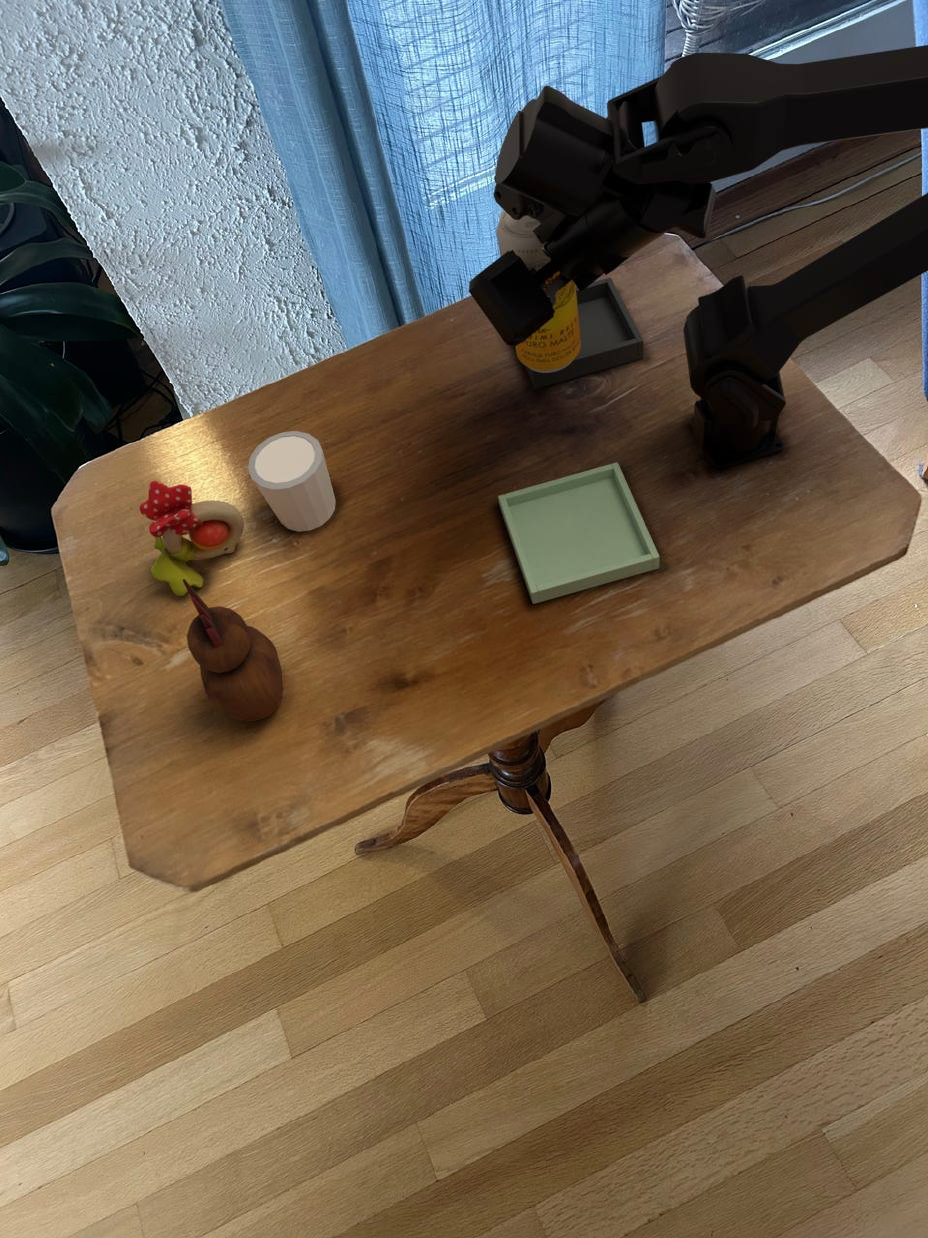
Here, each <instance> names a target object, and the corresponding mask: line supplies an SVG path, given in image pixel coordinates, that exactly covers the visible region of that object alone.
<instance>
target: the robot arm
mask: <svg viewBox="0 0 928 1238" xmlns="http://www.w3.org/2000/svg"><path fill="white" fill-rule="evenodd" d="M606 113H607V116H606V117H604V116H602V115H601V114H598V113H597V112H594V111H592V110H591V109H588V108H587V107H585V106H583V105H581V104H579V103H577V102H575V101H573V100H572V99H570V98H569V97H568V96H567V95H566V94H564V93H563V92H562V91H560V90H558V89H556V88H554V87H553V86H550V85H545V86H543V87H542V89H541V91H540V93H539V95H538V96H537V98H531V99H530V100H529V101H528V102H527V103H526V104H525V105H524V107H523V108H522V109H521V110H517V112H516V113H515V115H514V117H513V118H512V121H511V123H510V125H509V127H508V129H507V131H506V134H505V136H504V139H503V141H502V145H501V147H500V151H499V154H498V157H497V161H496V166H495V173H494V176H493V179H494V183H495V187H494V191H493V199H494V201H495V203H496V204H497V205H498V206H499V207H500V208H501V209H502V211H503V210H504V211H505V212H506V213H507V214H509V215H510V216H511V217H512V218H513V219H514V220H520V219H521V218H522V217H524V216H530V217H531V218H532V219H536V220H539V222H540V223H541V224H540V225H539V226H537V227H536V228H535V229H534V230H533V232H534V234H535V235H536V237H537V238H538V240H539V241H540V243H541V244H544V243H545V242H547V243H546V244H545V245H543V247H542V250H543V252H544V253H545V255H546V256H547V257H550V259H551V260H550V261H549V262H548V263H547V264H545V265H544V266H543V267H542V268H540V269H539V270H538V271H536V270H535V268H534V267H532V268H531V269H530V270H529V269H528V268H527V266H526V265H525V263H524V262H523V260H522V259H521V258H520V256H518V255H516V254H515V252H514V251H513V250H511V251H507V252H506V253H505V254H503V255H502V256H501V257H500V256H499V257H498V258H497V259H496V260H494V261H493V262H492V263H490V264H489V265H488V266H487V267H485V268H484V269H483V270H481V271H480V272H479V273H477V274H476V275H475V276H474V277H473V278H472V279H470V280H469V282H468V293H469V294H470V296H471V297H472V298H473V300H474V301H475V303H476V304H477V306H478V307H479V309H480V310H481V311H482V313H483V314H484V315H485V317H486V318H487V320H488V321H489V323H490V324H491V325H492V327H493V328H494V329H495V331H496V332H497V334H498V335H499V336H500V338H501V339H502V340H503V342H504V343H505V345H506V346H511V347H515V346H517V345H518V344H520V343H522V342H523V341H525V340H526V339H527V338H529V337H530V336H531V335H532V334H534V333H535V332H536V331H537V330H538V329H540V328H541V327H542V326H543V325H545V324H546V323H547V322H548V321H549V320H551V319H552V318H553V317H554V313H555V310H554V309H553V306H554V305H555V304H556V293H557V292H558V291H559V290H560V289H561V288H563V287H564V286H565V285H566V284H568V283H569V282H570V281H571V280H573V282H574V283H575V286H576V287H578V289H579V290H580V292H581V291H582V290H584V289H585V288H587V287H588V286H589V285H591V284H592V283H593V282H595V281H598V279H599V278H600V277H602V276H603V275H605V276H607V275H609V274H611V273H612V272H613V271H615V270H616V269H617V268H618V267H619V266H621V265H622V264H624V262H626V261H627V260H628V259H629V258H631V257H632V256H633V255H634V254H636V253H638V252H639V251H640V250H641V249H643V248H645V247H647V246H648V245H650V244H651V243H652V242H654V241H656V240H657V239H659V238H660V237H663V235H665V234H667V233H668V232H669V231H671V230H674V229H677V230H680V231H682V232H684V233H687V234H689V235H690V236H693V237H695V238H697V239H699V240H703V239H705V238H707V237H708V236H707V235H708V232H709V227H710V223H711V219H712V214H713V210H714V206H715V202H716V199H717V198H716V197H717V191H716V189H715V188H714V185H713V183H714V182H717V181H721V180H725V179H727V178H731V177H734V176H738V175H741V174H746V173H749V172H751V171H753V170H755V169H757V168H758V167H760V166H761V165H763V164H764V163H766V162H768V161H769V160H770V159H772V158H773V157H776V155H778V154H779V153H781V152H784V151H788V150H790V149H794V148H797V147H801V146H808V145H815V144H822V143H830V142H838V141H844V140H854V139H860V138H861V139H862V138H868V137H875V136H881V135H882V136H883V135H889V134H898V133H904V132H911V131H912V132H913V131H918V130H919V131H920V130H926V129H928V44H924V45H918V46H912V47H911V46H910V47H904V48H898V49H897V48H896V49H891V50H883V51H877V52H870V53H864V54H857V55H850V56H844V57H837V58H830V59H829V58H828V59H822V60H817V61H809V62H803V63H779V62H776V61H773V60H769V59H766V58H762V57H759V56H756V55H754V54H753V55H752V54H749V53H745V52H743V53H742V52H741V53H740V52H738V53H737V52H693V53H690V54H687V55H684V56H681V57H679V58H677V59H675V60H673V61H672V62H671V63H670V65H669V68H668V69H666V71H664V73H663V74H662V75H660V76H659V77H655V78H654V79H651V80H649V81H646V82H645V83H643V84H640V85H638V86H636V87H634V88H632V89H629V90H628V91H625V92H623V93H620V94H619V95H617V96H615V97H612V98H610V99H609V100H608V101H607V102H606ZM651 122H653V126H654V133H655V142H653V143H651V144H648V145H646V144H645V136H644V135H645V134H644V128H643V124H644V123H651ZM558 271H559V272H560V274H559V275H557V276H556V278H553V279H552V280H551V281H550V282H549V283H547V284H545V283H544V282H545V281H546V280H548V279H549V278H550V277H551V276H553V275H554V274H555V273H556V272H558ZM927 272H928V192H926V193H925V194H923V195H921V196H920V197H918V198H916V199H914V200H913V201H911V202H909V203H908V204H907V205H905V206H903V207H901V208H900V209H898V210H896V211H895V212H893V213H891V214H889V215H888V216H886V217H885V218H883V219H881V220H880V221H878V222H876V223H875V224H873V225H871V226H870V227H868V228H866V229H865V230H863V231H861V232H860V233H858V234H857V235H855V236H853V237H851V238H850V239H848V240H846V241H844V242H843V243H841V244H840V245H838V246H836V247H835V248H833V249H832V250H829V251H828V252H827V253H825V254H823V255H822V256H820V257H818V258H816V259H815V260H813V261H812V262H810V263H808V264H807V265H804V266H803V267H801V268H800V269H799V270H797V271H795V272H793V273H792V274H790V275H788V276H787V277H785V278H783V279H782V280H780V281H779V282H775V283H774V284H763V285H749V283H748V282H747V280H746V278H745V276H743V275H738V276H734V277H732V278H731V279H730V280H729V281H727V282H726V283H725V284H724V285H722V286H721V287H720V288H718V289H717V290H714V291H712V292H711V293H708V294H705V295H701V296H698V298H697V301H698V302H697V303H698V305H696V307H694V308H693V309H692V310H691V311H690V312H689V313H688V314H687V315H686V317H685V319H686V320H685V322H684V326H683V329H682V332H683V339H684V347H685V354H686V362H687V369H688V375H689V382H690V383H689V385H690V389H692V391H693V393H694V394H695V395H697V396H698V397H699V399H697V400H696V401H695V402H694V408H693V416H692V418H691V420H690V425H691V427H692V434H693V436H694V438H695V440H696V442H697V444H698V446H699V448H700V450H701V451H702V452H703V453H706V455H707V457H708V459H709V461H710V463H711V465H712V467H713V468H714V469H715V470H722V469H726V468H729V467H733V466H736V465H740V464H743V463H747V462H751V461H754V460H758V459H761V458H765V457H768V456H771V455H776V454H779V453H782V452H783V450H784V446H785V445H784V443H783V441H782V439H781V438H780V437H781V436H779V433H778V432H777V431H778V425H779V421H780V420H779V419H780V415H781V413H782V411H783V410H784V408H785V407H786V405H787V401H786V396H785V391H784V387H783V381H782V376H781V370H782V369H783V368H784V367H785V365H786V363H787V362H788V361H789V359H790V358H791V357H792V355H793V354H794V353H795V351H796V350H797V349H798V347H799V346H800V345H801V344H802V343H803V342H804V341H805V340H807V339H809V338H810V337H811V336H813V335H815V334H816V333H819V332H820V331H822V330H825V329H826V328H828V327H829V326H831V325H833V324H835V323H837V322H839V321H840V320H842V319H843V318H845V317H848V316H850V315H851V314H853V313H854V312H857V311H859V310H860V309H862V308H863V307H865V306H867V305H870V304H871V303H872V302H875V301H876V300H878V299H880V298H882V297H883V296H885V295H887V294H889V293H891V292H892V291H894V290H896V289H898V288H900V287H901V286H903V285H905V284H907V283H908V282H910V281H912V280H914V279H916V278H918V277H920V276H921V275H923V274H925V273H927ZM545 288H546V289H545ZM544 289H545V290H544ZM543 290H544V291H543Z"/></svg>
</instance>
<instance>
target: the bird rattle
mask: <svg viewBox="0 0 928 1238" xmlns="http://www.w3.org/2000/svg"><path fill="white" fill-rule="evenodd" d="M192 493H193V491H192V487H191V486H189V485H186V484H178V485H177V484H176V485H174V486H168V485H166V484H164V483H163V482H160V481H158V480H153V481H150V483H149V486H148V499H147V500H145V501H144V502H142V503H141V504H140V505H139V512H140V514H141V515H143V516H144V517H145V518H147V519H148V520H151V521H153V522H151V523H150V524H149V526H148V531H149V533H150V535H151V536H152V537H154V541H155V542H154V545H153V547H154V548H155V549H156V550H158V551H159V552H160V554H159V555H158V557H157V558H156V559H155V562H154V563H153V564H152V566H151V568H150V573H151V576H152V578H154V579H156V580H157V581H159V582H167V583H168V585H169V587H170V589H171V591H172V592H173V593H174V595H176V596H178V597H183V596H185V595H187V593H188V591H187V589H186V587H185V585H184V583H183V581H182V580H183V579H185V580H186V581H187V582H188V584H189V585H190V586H191V587H192V586H193V587H195V588H203V585H204V578H203V576H202V575H201V574H199V573H198V572H197V571H195V570H194V569H193V568H191V567H190V566H188V565H187V563H186V562H188V561H198V560H199V561H200V560H201V561H202V560H206V559H211V558H215V557H218V556H220V555H224V554H231V553H234V552H235V551H236V545H237V544H238V542H239V541H240V539H241V537H242V536H243V533H244V528H245V523H244V518H243V516H242V514H241V512H240V511H239V509H238V508H237V507H236V506H235V505H233V504H231V503H229V502H226V501H223V500H203V501H199V502H194V503H193V494H192ZM187 535H188V537H189V539H188V538H186V537H184V536H187Z"/></svg>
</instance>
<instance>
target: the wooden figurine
mask: <svg viewBox="0 0 928 1238" xmlns="http://www.w3.org/2000/svg"><path fill="white" fill-rule="evenodd" d="M182 581H183V583H184V585H185V587H186V589H187V593H188V594H189V596H190V601H191V602H192V604H193V606H194V608H195V610H196V611H197V613H198V614H197V615H196V616H195V617H194V618H193V619H192V621H191V622H190V624H189V627H188V630H187V634H186V641H187V647H188V650H189V652H190V654H191V656H192V658H193V659H194V660H195V662H196V663H197V664H198V665H199V669H200V671H199V673H200V678H201V682H202V685H203V690H204V692H205V694H206V696H207V698H208V699H209V700H208V701H210V702H211V704H213V705H214V706H215V707H216V708H217V709H219V710H220V711H221V712H223V713H224V714H226V715H227V716H228V717H231V718H233V719H236V720H241V721H247V722H252V721H259V720H263V719H265V718H266V717H269V716H271V715H272V714H273V712H275V711H276V710H277V709H278V707H279V705H280V703H281V701H282V698H283V693H284V685H283V684H284V682H283V671H282V666H281V662H280V658H279V655H278V654H279V653H278V651H277V648H276V646H275V645H274V643H273V641H272V640H271V639H270V638H269V637H267V636H266V635H265V634H264V633H262V632H261V631H260V630H259V629H257V628H255V627H253V626H252V625H251V626H250V625H247V623H246V621H245V619H244V618H243V617H242V615H240V614H239V613H238V612H236V611H235V610H233V609H231V608H229V607H225V606H221V605H219V606H211V607H208V605H207V604H206V602H204V600H203V599H202V598H201V597H200V596H199V594H197V592H196V590H194V588H193V587H192V586H190V585H189V584H188V582H187V581H186V580H185V579H183V580H182Z"/></svg>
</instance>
